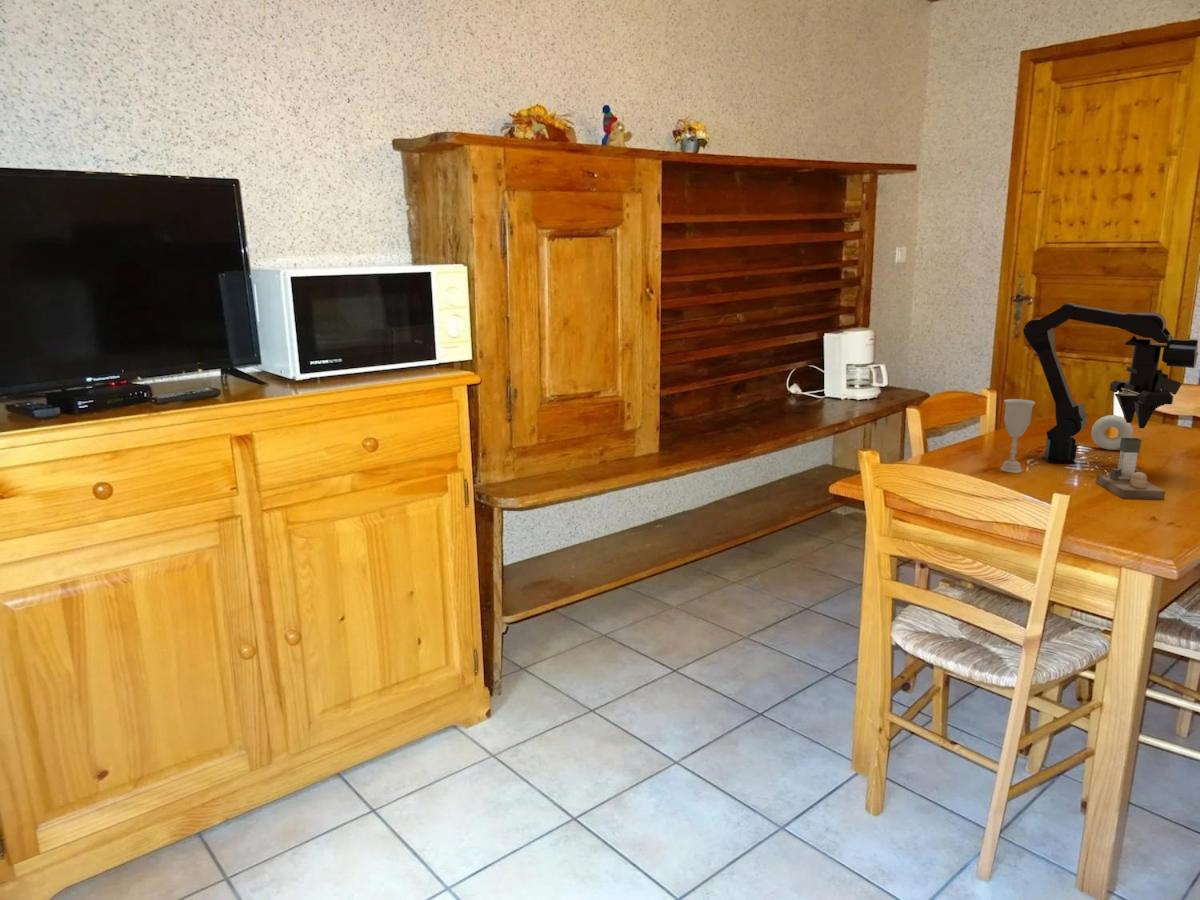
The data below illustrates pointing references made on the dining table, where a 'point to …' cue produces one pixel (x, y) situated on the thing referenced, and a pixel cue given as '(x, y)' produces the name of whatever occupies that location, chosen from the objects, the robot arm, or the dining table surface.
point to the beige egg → (1138, 480)
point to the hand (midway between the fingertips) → (1135, 425)
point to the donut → (1105, 423)
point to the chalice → (1016, 427)
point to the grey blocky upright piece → (1128, 456)
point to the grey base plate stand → (1128, 487)
